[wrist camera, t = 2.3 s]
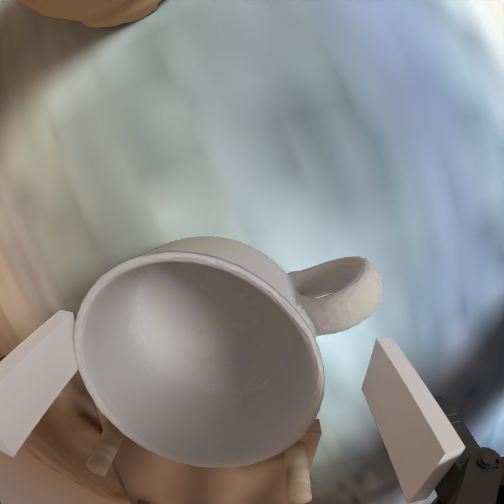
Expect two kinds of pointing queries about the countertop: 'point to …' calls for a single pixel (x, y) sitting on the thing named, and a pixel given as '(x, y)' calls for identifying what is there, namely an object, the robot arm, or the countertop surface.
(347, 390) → the countertop surface
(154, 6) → the container
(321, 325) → the teacup
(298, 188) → the countertop surface
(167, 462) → the rack
